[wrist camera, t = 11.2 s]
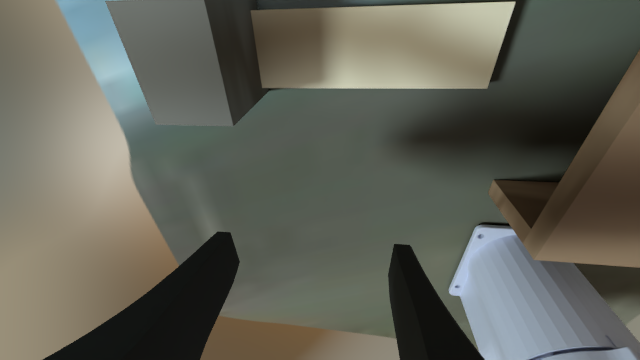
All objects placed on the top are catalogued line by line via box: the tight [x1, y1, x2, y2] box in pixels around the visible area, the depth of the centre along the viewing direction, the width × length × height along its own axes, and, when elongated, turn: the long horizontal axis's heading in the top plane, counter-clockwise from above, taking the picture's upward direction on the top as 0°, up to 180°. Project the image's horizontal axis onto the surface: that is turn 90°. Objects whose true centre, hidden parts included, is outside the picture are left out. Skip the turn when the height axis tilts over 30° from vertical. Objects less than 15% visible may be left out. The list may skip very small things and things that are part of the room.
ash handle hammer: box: [105, 0, 515, 126], centre depth 13 cm, size 5×17×6 cm, turn 92°
